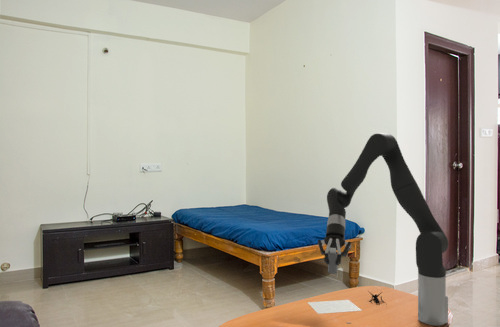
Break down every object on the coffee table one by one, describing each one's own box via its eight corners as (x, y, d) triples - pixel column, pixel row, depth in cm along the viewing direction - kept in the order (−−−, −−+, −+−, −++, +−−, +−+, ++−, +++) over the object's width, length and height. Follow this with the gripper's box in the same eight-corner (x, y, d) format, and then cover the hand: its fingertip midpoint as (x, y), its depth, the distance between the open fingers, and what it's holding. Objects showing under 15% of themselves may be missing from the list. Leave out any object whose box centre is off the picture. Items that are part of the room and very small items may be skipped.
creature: (388, 311, 153) (384, 300, 161) (389, 299, 152) (385, 288, 160) (368, 310, 154) (365, 299, 162) (369, 298, 153) (365, 287, 161)
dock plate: (348, 302, 160) (348, 299, 160) (362, 313, 148) (362, 310, 148) (307, 305, 156) (307, 302, 156) (318, 316, 144) (318, 313, 144)
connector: (329, 269, 154) (329, 246, 154) (338, 270, 153) (338, 247, 153) (327, 272, 149) (327, 249, 149) (336, 273, 148) (336, 249, 148)
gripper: (318, 221, 160) (313, 257, 149) (352, 223, 156) (350, 260, 144) (319, 232, 165) (315, 267, 154) (353, 234, 161) (351, 270, 149)
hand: (332, 263), depth 149 cm, fingers closed on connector, 3 cm apart
